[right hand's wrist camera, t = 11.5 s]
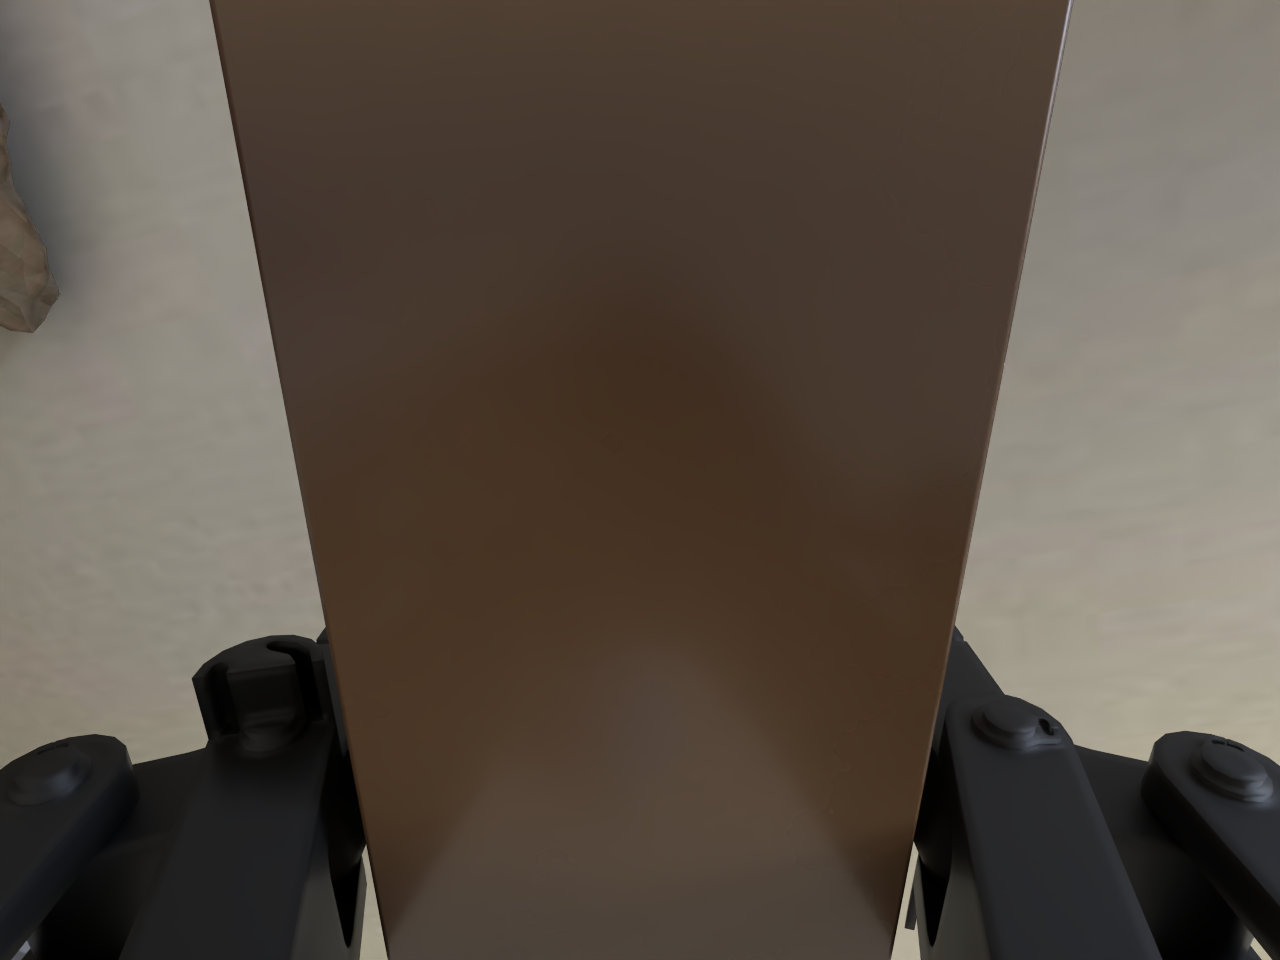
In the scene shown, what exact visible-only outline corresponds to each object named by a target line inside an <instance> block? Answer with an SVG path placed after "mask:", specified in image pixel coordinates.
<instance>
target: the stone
mask: <svg viewBox="0 0 1280 960" xmlns="http://www.w3.org/2000/svg"><path fill="white" fill-rule="evenodd" d="M9 124H10V120H9V118H8V117H7V115H6V113H5V112H4V110H3V108H2V106H1V105H0V325H1V326H3V327H5V328H7V329H9V330H12V331H21V332H29V333H33V332H34V331H35V330H36V329H37V328H38V327H39V326H40V325H41V323H42V322H43V321H44V320H45V318H46V316H47V314H48V312H49V310H50V308H51V306H52V305H53V303H54V302H55V301H56V299H57V298H58V297H59V295H60V294H59V290H58V287H57V285H56V283H55V280H54V278H53V276H52V274H51V271H50V269H49V266H48V259H47V252H46V247H45V245H44V244H43V243H42V241H41V239H40V236H39V234H38V232H37V230H36V228H35V226H34V224H33V221H32V219H31V217H30V215H29V213H28V211H27V209H26V207H25V205H24V203H23V201H22V200H21V198H20V196H19V194H18V193H17V191H16V189H15V187H14V185H13V180H12V176H11V164H12V163H11V160H10V156H9V153H8V149H7V146H6V139H7V134H8V129H9Z"/></svg>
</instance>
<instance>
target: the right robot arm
mask: <svg viewBox="0 0 1280 960" xmlns="http://www.w3.org/2000/svg"><path fill="white" fill-rule="evenodd" d="M192 681H193V685H194V689H195V692H196V696H197V699H198V703H199V707H200V710H201V714H202V717H203V721H204V725H205V728H206V732H207V735H208V739H209V740H208V743H207V745H206V747H205V748H203V749H199V750H196V751H192V752H189V753H184V754H180V755H175V756H171V757H166V758H161V759H157V760H152V761H147V762H143V763H138V764H134V765H132V763H131V760H130V757H129V754H128V751H127V748H126V746H125V745H124V744H123V743H122V742H120V741H119V740H118V739H117V738H115V737H111V736H105V735H98V734H92V735H84V736H77V737H69V738H66V739H63V740H58V741H56V742H54V743H53V742H52V743H49V744H46V745H44V746H41V747H38V748H37V749H35V750H33V751H31V752H29V753H27V754H25V755H23V756H21V757H19V758H17V759H15V760H13V761H11V762H10V763H9V764H7V765H6V766H5V767H3V768H2V769H1V770H0V960H359V958H360V948H361V938H362V928H363V918H364V908H365V898H366V887H367V882H366V875H365V869H364V864H363V858H362V853H363V850H364V848H365V845H366V840H365V834H364V829H363V823H362V818H361V813H360V807H359V802H358V797H357V791H356V786H355V780H354V775H353V770H352V764H351V759H350V754H349V748H348V743H347V738H346V732H345V727H344V721H343V716H342V711H341V705H340V700H339V695H338V689H337V684H336V678H335V673H334V668H333V662H332V657H331V652H330V646H329V641H328V635H327V630H326V627H325V629H324V630H323V631H322V633H321V634H320V636H319V637H318V638H317V642H316V643H315V642H314V641H313V640H312V639H309V638H305V637H300V636H296V635H274V636H267V637H263V638H258V639H254V640H249V641H246V642H243V643H241V644H238V645H236V646H234V647H231V648H229V649H226V650H224V651H222V652H221V653H219V654H218V655H216V656H215V657H213V658H212V659H210V660H209V661H207V662H206V663H204V664H203V665H202V667H201V668H200V669H199V670H198V671H197V673H196V674H195V675H194V676H193V678H192ZM914 843H915V845H916V848H917V850H918V852H919V853H918V858H917V864H916V869H915V874H914V879H913V884H912V889H911V895H910V900H909V905H908V910H907V916H906V922H905V928H907V929H911V930H914V929H915V924H916V919H917V926H918V936H919V946H920V956H921V960H1261V958H1260V957H1259V956H1258V955H1257V953H1256V952H1255V951H1254V949H1253V948H1252V947H1251V946H1250V945H1251V942H1252V940H1253V938H1254V937H1255V939H1256V940H1257V941H1258V942H1259V944H1260V945H1261V946H1262V947H1263V949H1264V950H1265V951H1266V952H1267V954H1268V955H1269V956H1270V957H1271V959H1272V960H1280V766H1279V765H1278V764H1276V763H1275V762H1274V761H1272V760H1271V759H1270V758H1268V757H1266V756H1264V755H1262V754H1260V753H1258V752H1256V751H1254V750H1252V749H1250V748H1248V747H1246V746H1245V745H1243V744H1241V743H1238V742H1235V741H1232V740H1230V739H1225V738H1223V737H1219V736H1215V735H1212V734H1206V733H1198V732H1190V731H1181V732H1174V733H1168V734H1165V735H1164V736H1162V737H1161V738H1160V739H1159V740H1157V741H1156V742H1155V743H1154V746H1153V749H1152V752H1151V755H1150V758H1149V761H1148V762H1147V761H1142V760H1138V759H1133V758H1128V757H1124V756H1119V755H1114V754H1110V753H1105V752H1100V751H1096V750H1092V749H1088V748H1084V747H1081V746H1077V745H1074V744H1073V741H1072V739H1071V737H1070V736H1069V735H1068V733H1067V732H1066V730H1065V729H1064V727H1063V726H1062V725H1061V723H1060V722H1058V721H1057V720H1056V719H1055V718H1053V717H1052V716H1051V715H1049V714H1048V713H1047V712H1045V711H1044V710H1043V709H1041V708H1039V707H1037V706H1035V705H1033V704H1031V703H1029V702H1026V701H1024V700H1022V699H1020V698H1016V697H1012V696H1009V695H1005V694H1004V693H1003V692H1002V690H1001V689H1000V687H999V686H998V685H997V683H996V682H995V681H994V679H993V678H992V676H991V675H990V674H989V672H988V671H987V669H986V668H985V667H984V665H983V664H982V662H981V661H980V660H979V658H978V657H977V655H976V654H975V653H974V651H973V650H972V648H971V647H970V646H969V644H968V643H967V642H966V641H964V640H963V636H962V635H961V633H960V632H959V630H958V629H957V628H956V626H955V625H954V631H953V636H952V641H951V646H950V652H949V657H948V662H947V667H946V673H945V678H944V683H943V688H942V694H941V699H940V704H939V709H938V715H937V720H936V725H935V730H934V736H933V741H932V746H931V751H930V757H929V762H928V767H927V772H926V778H925V783H924V788H923V793H922V799H921V804H920V809H919V814H918V820H917V825H916V830H915V835H914Z"/></svg>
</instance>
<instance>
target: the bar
mask: <svg viewBox="0 0 1280 960" xmlns="http://www.w3.org/2000/svg"><path fill="white" fill-rule="evenodd" d="M1073 1H1074V0H209V2H210V7H211V12H212V18H213V23H214V28H215V34H216V39H217V45H218V50H219V55H220V61H221V66H222V71H223V77H224V82H225V88H226V93H227V98H228V104H229V109H230V114H231V120H232V125H233V131H234V136H235V141H236V147H237V152H238V157H239V163H240V168H241V173H242V179H243V184H244V190H245V195H246V200H247V206H248V211H249V216H250V222H251V227H252V233H253V238H254V243H255V249H256V254H257V259H258V265H259V270H260V276H261V281H262V286H263V292H264V297H265V302H266V308H267V313H268V319H269V324H270V329H271V335H272V340H273V345H274V351H275V356H276V362H277V367H278V372H279V378H280V383H281V388H282V394H283V399H284V404H285V410H286V415H287V421H288V426H289V431H290V437H291V442H292V447H293V453H294V458H295V464H296V469H297V474H298V480H299V485H300V490H301V496H302V501H303V507H304V512H305V517H306V523H307V528H308V533H309V539H310V544H311V550H312V555H313V560H314V566H315V571H316V576H317V582H318V587H319V592H320V598H321V603H322V609H323V614H324V619H325V625H326V630H327V635H328V641H329V646H330V652H331V657H332V662H333V668H334V673H335V678H336V684H337V689H338V695H339V700H340V705H341V711H342V716H343V721H344V727H345V732H346V738H347V743H348V748H349V754H350V759H351V764H352V770H353V775H354V780H355V786H356V791H357V797H358V802H359V807H360V813H361V818H362V823H363V829H364V834H365V840H366V845H367V850H368V856H369V861H370V866H371V872H372V877H373V883H374V888H375V893H376V899H377V904H378V909H379V915H380V920H381V926H382V931H383V936H384V942H385V947H386V952H387V958H388V960H891V956H892V951H893V946H894V940H895V935H896V930H897V925H898V919H899V914H900V909H901V904H902V898H903V893H904V888H905V883H906V877H907V872H908V867H909V862H910V856H911V851H912V846H913V841H914V835H915V830H916V825H917V820H918V814H919V809H920V804H921V799H922V793H923V788H924V783H925V778H926V772H927V767H928V762H929V757H930V751H931V746H932V741H933V736H934V730H935V725H936V720H937V715H938V709H939V704H940V699H941V694H942V688H943V683H944V678H945V673H946V667H947V662H948V657H949V652H950V646H951V641H952V636H953V631H954V625H955V620H956V615H957V610H958V604H959V599H960V594H961V589H962V583H963V578H964V573H965V568H966V562H967V557H968V552H969V547H970V541H971V536H972V531H973V526H974V520H975V515H976V510H977V505H978V499H979V494H980V489H981V484H982V478H983V473H984V468H985V463H986V457H987V452H988V447H989V442H990V436H991V431H992V426H993V421H994V415H995V410H996V405H997V400H998V394H999V389H1000V384H1001V379H1002V373H1003V368H1004V363H1005V358H1006V352H1007V347H1008V342H1009V337H1010V331H1011V326H1012V321H1013V316H1014V310H1015V305H1016V300H1017V295H1018V289H1019V284H1020V279H1021V274H1022V268H1023V263H1024V258H1025V253H1026V247H1027V242H1028V237H1029V232H1030V226H1031V221H1032V216H1033V211H1034V205H1035V200H1036V195H1037V190H1038V184H1039V179H1040V174H1041V169H1042V163H1043V158H1044V153H1045V148H1046V142H1047V137H1048V132H1049V127H1050V121H1051V116H1052V111H1053V106H1054V100H1055V95H1056V90H1057V85H1058V79H1059V74H1060V69H1061V64H1062V58H1063V53H1064V48H1065V43H1066V37H1067V32H1068V27H1069V22H1070V16H1071V11H1072V6H1073Z"/></svg>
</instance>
